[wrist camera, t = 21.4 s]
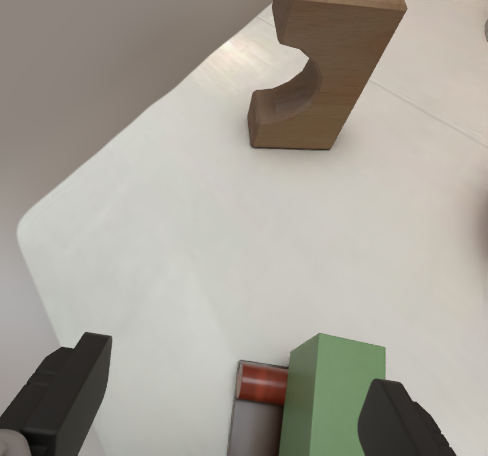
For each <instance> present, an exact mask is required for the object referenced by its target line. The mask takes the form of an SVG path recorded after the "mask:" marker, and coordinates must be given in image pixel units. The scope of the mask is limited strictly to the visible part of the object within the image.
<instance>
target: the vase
mask: <svg viewBox="0 0 488 456" xmlns="http://www.w3.org/2000/svg"><path fill="white" fill-rule="evenodd" d="M485 34H486V38H487V41H488V19H487V21H486V24H485Z"/></svg>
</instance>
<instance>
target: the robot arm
mask: <svg viewBox="0 0 488 456" xmlns="http://www.w3.org/2000/svg"><path fill="white" fill-rule="evenodd" d="M111 348H112V336H108V335H102V334H96V333H89V332H85V333H84V334H83V336H82V337H81V339H80V340H79V342H78V343H77V345H76V346H75V348H74V349H73V348H66V347H61V348H59V349H58V350H56V351H55V352H53V353H51V354H50V355H48V356H47V357H46V358H45V359H44V360H43V361H42V363H41V364H40V365H39V367H38V368H37V369H36V371H35V373H34V374H33V375H32V376H31V378H30V379H29V380H28V381H27V384H26V385H24V386H23V388H22V389H21V390H20V392H19V393H18V394H17V396H16V397H15V398H14V400H13V401H12V402H11V404H10V405H9V406H8V408H7V409H6V410H5V412H4V413H3V414H2V415H1V417H0V456H78V453H79V451H80V449H81V447H82V445H83V442H84V440H85V438H86V435H87V434H88V431H89V429H90V427H91V425H92V423H93V420H94V418H95V416H96V414H97V411H98V409H99V407H100V405H101V403H102V400H103V397H104V394H105V391H106V387H107V382H108V375H109V366H110V357H111ZM357 431H358V438H359V441H360V444H361V447H362V449H363V452H364V455H365V456H456V454H455V452H454V451H453V449H452V448H451V447H449V443H448V441H447V440H446V438H445V437H444V435H443V434H441V430H440V429H439V427H438V426H437V424H436V423H435V421H434V419H433V418H432V416H431V415H430V414H429V413H428V412H427V411H426V410H424V409H423V408H422V407H421V406H420V405H419V404H418V403H417V402H413V401H412V399H411V398H410V396H409V395H408V393H407V391H406V390H405V388H404V386H403V385H402V384H401V383H400V382H396V381H390V380H384V379H377V378H375V379H373V380H372V382H371V384H370V387H369V390H368V392H367V395H366V398H365V401H364V404H363V406H362V409H361V412H360V415H359V418H358V424H357Z"/></svg>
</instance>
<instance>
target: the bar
mask: <svg viewBox="0 0 488 456" xmlns="http://www.w3.org/2000/svg"><path fill="white" fill-rule="evenodd" d="M375 378H377V379H384V380H385V347H381V346H377V345H372V344H368V343H363V342H358V341H354V340H349V339H345V338H340V337H336V336H331V335H326V334H322V333H318V334H317V335H315V336H314V337H312V338H311V339H309V340H308V341H306V342H305V343H303V344H302V345H300V346H299V347H297V348H296V349H294V350H293V351H291V352H290V361H289V370H288V378H287V387H286V396H285V404H284V413H283V422H282V430H281V439H280V448H279V456H365V455H364V452H363V449H362V447H361V444H360V441H359V438H358V431H357V424H358V418H359V415H360V412H361V409H362V406H363V404H364V401H365V398H366V395H367V392H368V390H369V387H370V384H371V382H372V380H373V379H375Z"/></svg>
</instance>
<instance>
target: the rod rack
mask: <svg viewBox="0 0 488 456" xmlns="http://www.w3.org/2000/svg"><path fill="white" fill-rule="evenodd" d="M288 370H289V367H284V366H277V365H271V364H264V363H258V362H251V361H245V360H239V362H238V369H237V377H236V385H235V393H234V402H233V410H232V418H231V426H230V434H229V442H228V450H227V456H279V448H280V439H281V430H282V422H283V413H284V404H285V396H286V387H287V378H288Z"/></svg>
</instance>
